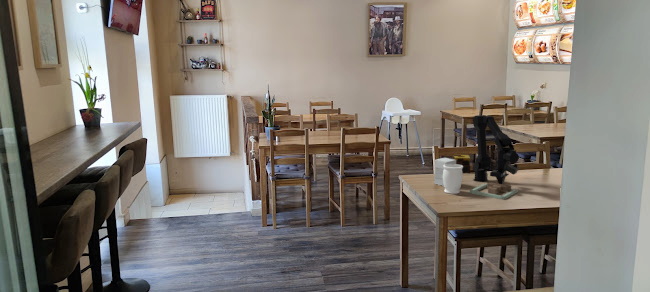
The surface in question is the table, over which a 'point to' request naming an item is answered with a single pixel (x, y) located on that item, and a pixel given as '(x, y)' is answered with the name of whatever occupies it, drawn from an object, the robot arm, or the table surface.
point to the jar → (452, 178)
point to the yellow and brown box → (463, 162)
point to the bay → (476, 191)
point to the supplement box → (441, 169)
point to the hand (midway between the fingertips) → (501, 186)
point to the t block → (497, 188)
